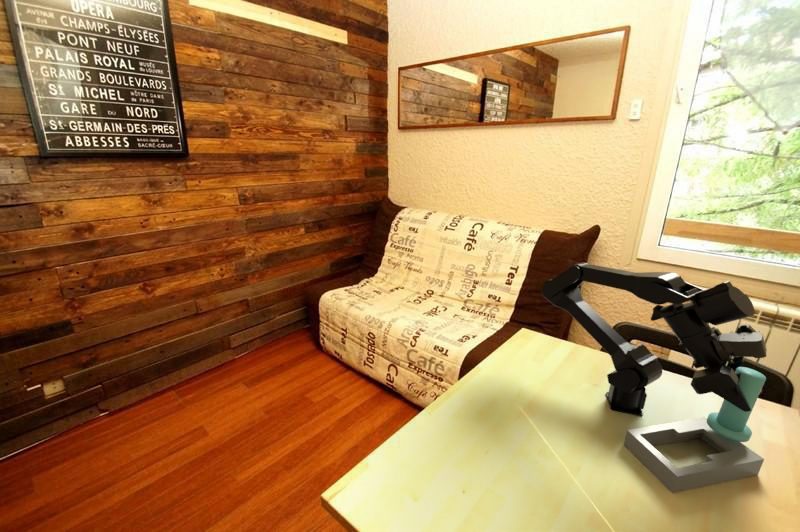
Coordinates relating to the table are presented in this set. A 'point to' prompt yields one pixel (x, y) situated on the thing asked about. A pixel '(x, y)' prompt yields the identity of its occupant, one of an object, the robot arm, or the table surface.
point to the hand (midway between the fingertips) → (748, 405)
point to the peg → (731, 417)
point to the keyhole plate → (718, 469)
